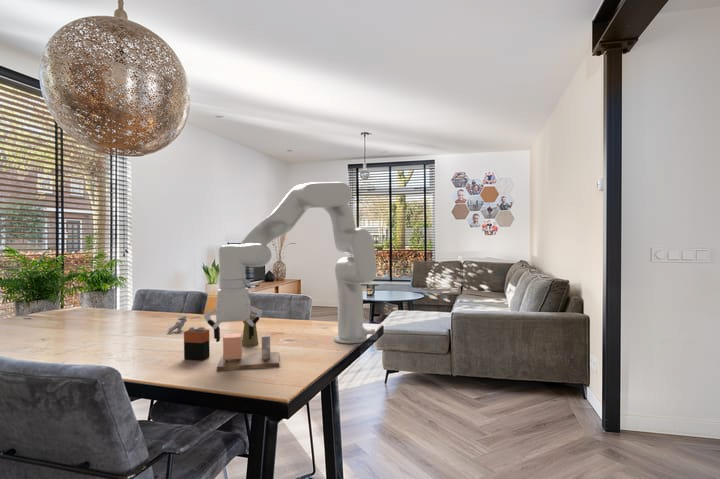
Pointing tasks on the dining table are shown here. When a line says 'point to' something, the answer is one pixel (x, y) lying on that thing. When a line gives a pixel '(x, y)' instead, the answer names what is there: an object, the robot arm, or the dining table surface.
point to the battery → (196, 344)
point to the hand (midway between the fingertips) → (234, 339)
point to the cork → (245, 339)
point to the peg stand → (252, 359)
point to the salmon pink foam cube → (232, 346)
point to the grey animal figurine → (178, 324)
